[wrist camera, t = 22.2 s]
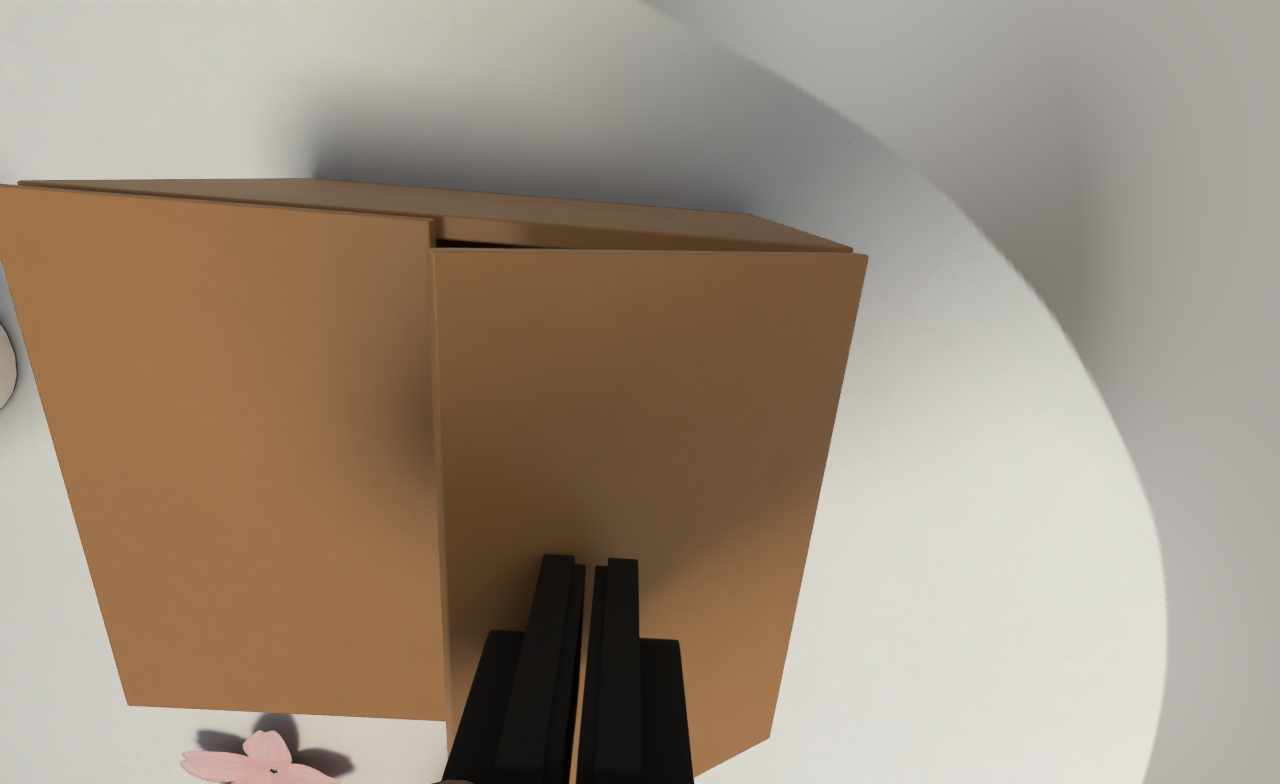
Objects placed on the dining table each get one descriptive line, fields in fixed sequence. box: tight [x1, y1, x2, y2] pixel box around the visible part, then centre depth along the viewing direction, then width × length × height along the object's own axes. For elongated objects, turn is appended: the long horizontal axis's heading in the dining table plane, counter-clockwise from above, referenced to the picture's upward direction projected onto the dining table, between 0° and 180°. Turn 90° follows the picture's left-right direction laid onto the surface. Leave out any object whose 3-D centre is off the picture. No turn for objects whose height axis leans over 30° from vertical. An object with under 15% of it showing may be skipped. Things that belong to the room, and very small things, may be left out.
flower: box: [180, 730, 342, 784], centre depth 32 cm, size 10×10×2 cm
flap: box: [426, 248, 869, 784], centre depth 12 cm, size 8×13×1 cm, turn 175°
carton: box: [0, 178, 853, 721], centre depth 19 cm, size 17×13×12 cm
